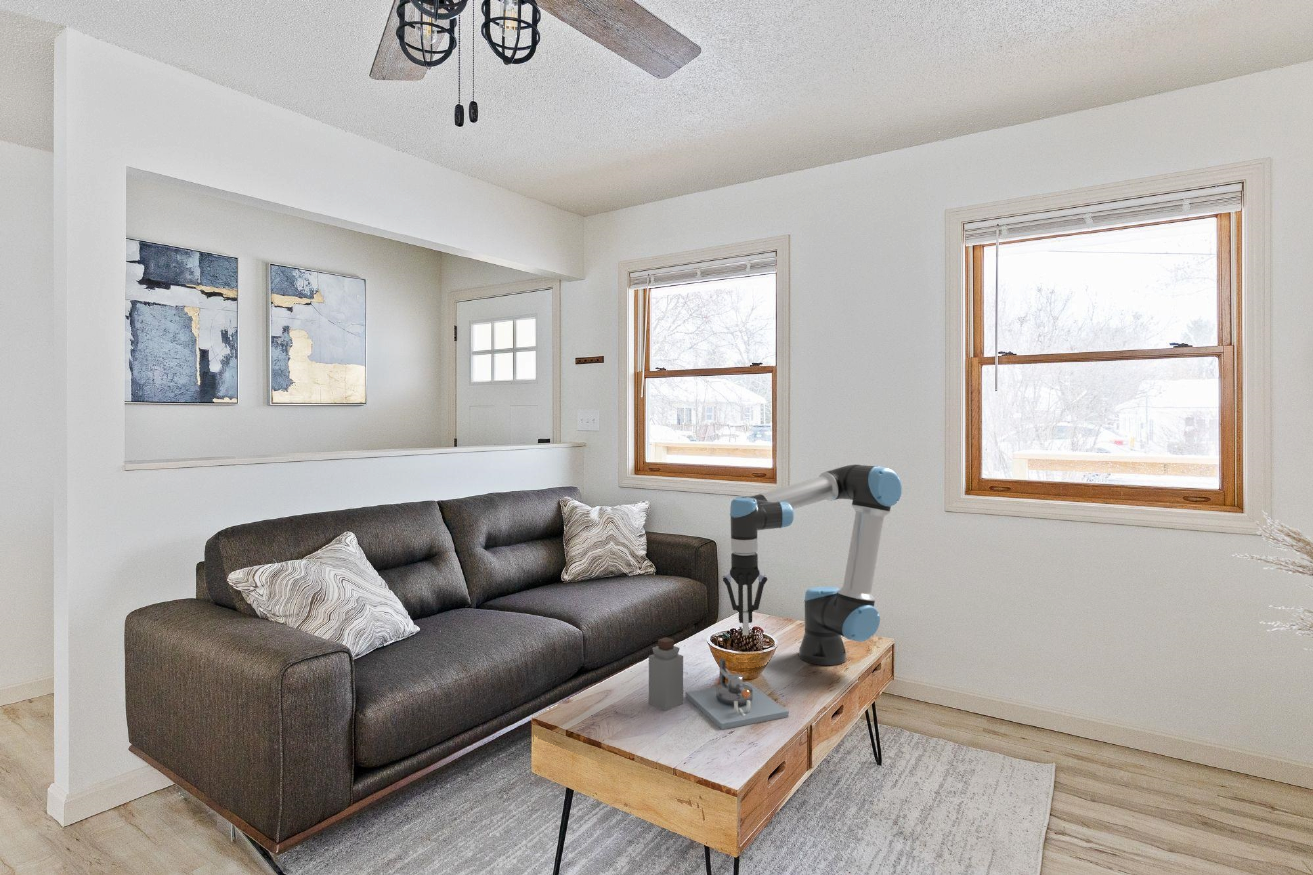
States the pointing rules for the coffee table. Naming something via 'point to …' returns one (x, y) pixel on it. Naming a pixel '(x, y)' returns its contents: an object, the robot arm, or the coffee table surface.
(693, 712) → the coffee table surface
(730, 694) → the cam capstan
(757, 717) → the stand
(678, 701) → the perfume bottle
